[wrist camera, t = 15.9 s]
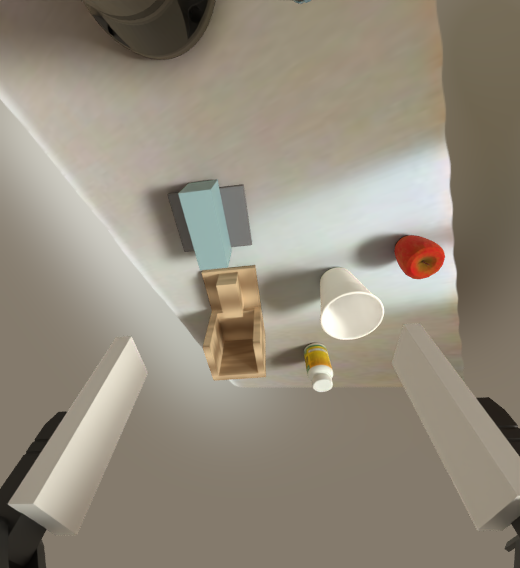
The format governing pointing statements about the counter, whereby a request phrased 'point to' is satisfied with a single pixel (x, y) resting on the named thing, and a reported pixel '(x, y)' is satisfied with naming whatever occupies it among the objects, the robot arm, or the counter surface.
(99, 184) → the counter surface
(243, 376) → the cradle
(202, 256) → the bar
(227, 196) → the mat
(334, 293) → the cup
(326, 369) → the supplement bottle
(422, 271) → the apple
